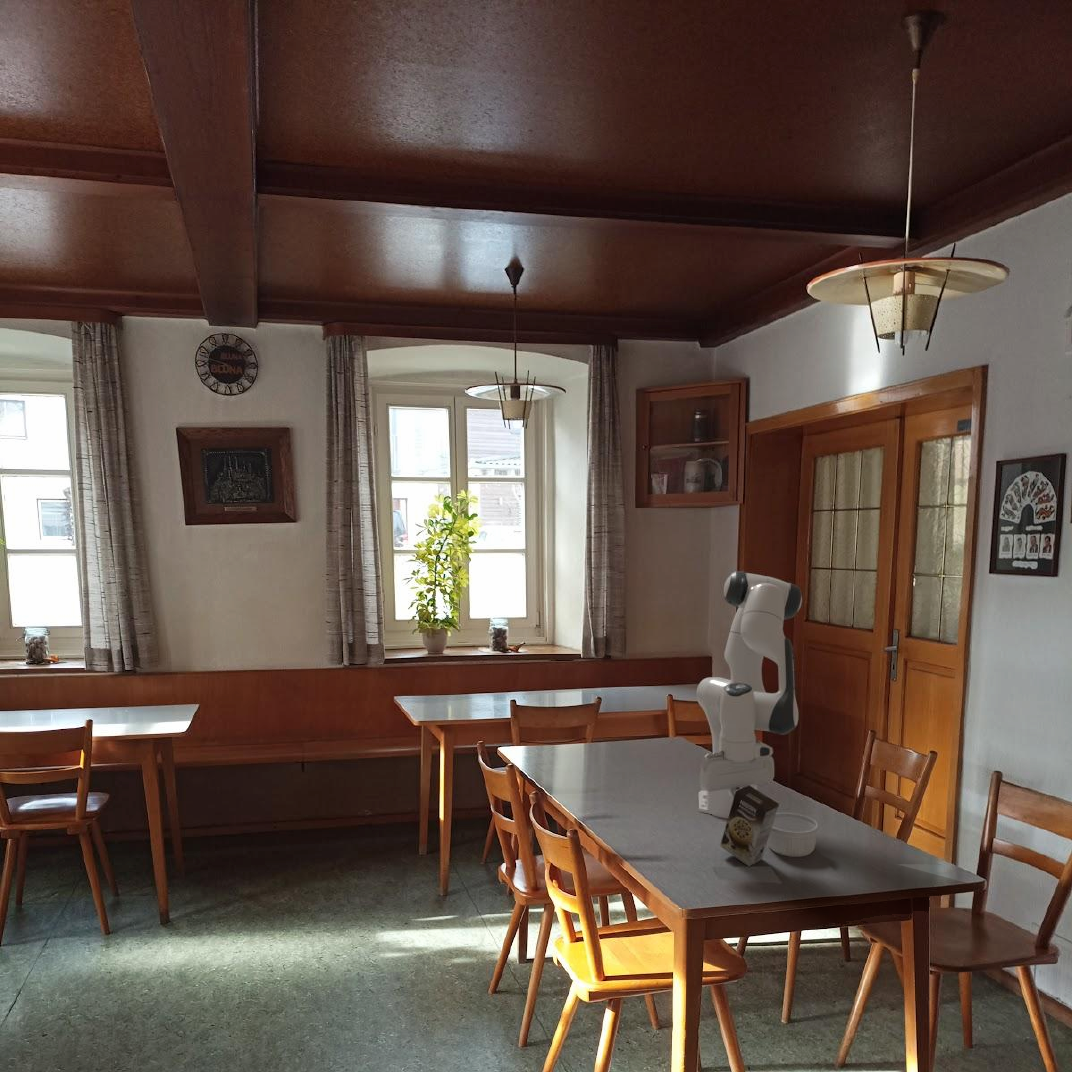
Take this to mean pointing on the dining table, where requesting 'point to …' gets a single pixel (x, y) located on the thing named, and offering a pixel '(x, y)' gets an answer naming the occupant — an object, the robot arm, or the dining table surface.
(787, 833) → the ramekin
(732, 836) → the dark cardboard box
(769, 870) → the mat
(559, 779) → the dining table surface
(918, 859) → the dining table surface
